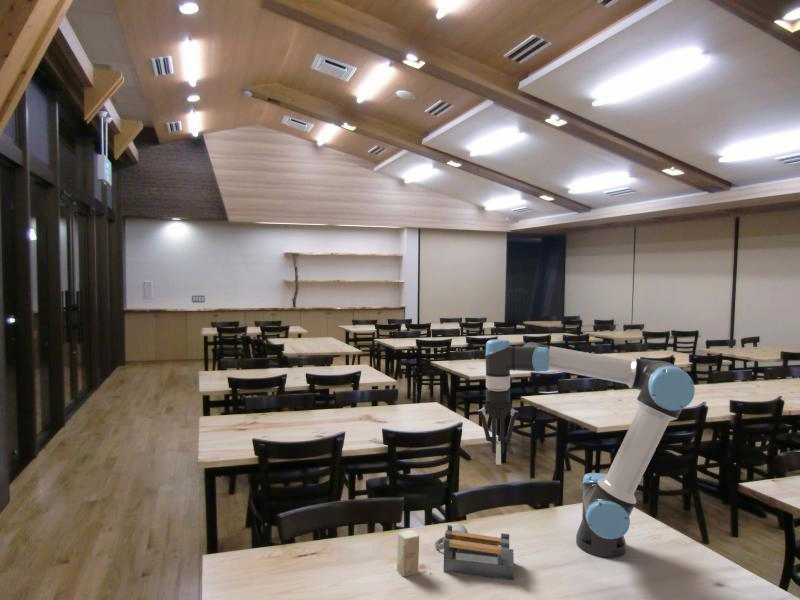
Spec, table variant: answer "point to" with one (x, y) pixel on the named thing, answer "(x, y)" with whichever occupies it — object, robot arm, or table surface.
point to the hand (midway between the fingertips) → (498, 463)
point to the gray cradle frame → (483, 562)
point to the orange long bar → (475, 538)
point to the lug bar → (448, 550)
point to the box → (408, 553)
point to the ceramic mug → (455, 527)
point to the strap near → (475, 546)
